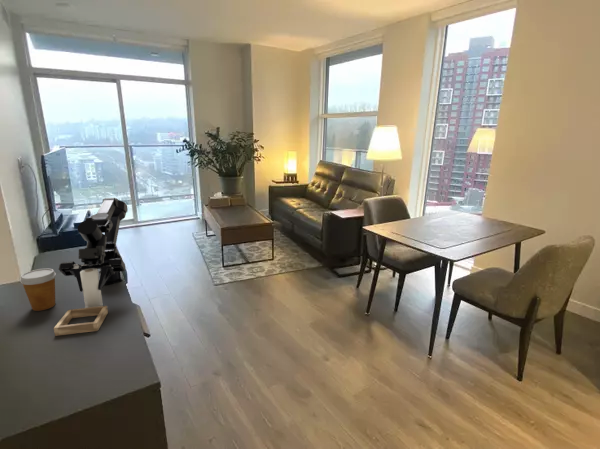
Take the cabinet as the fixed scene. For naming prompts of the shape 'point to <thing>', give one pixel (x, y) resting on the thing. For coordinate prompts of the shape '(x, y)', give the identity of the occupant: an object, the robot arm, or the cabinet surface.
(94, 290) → the paper roll
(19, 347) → the cabinet surface
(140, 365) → the cabinet surface
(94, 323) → the oak holder
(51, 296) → the disposable coffee cup
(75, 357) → the cabinet surface
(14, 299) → the cabinet surface
